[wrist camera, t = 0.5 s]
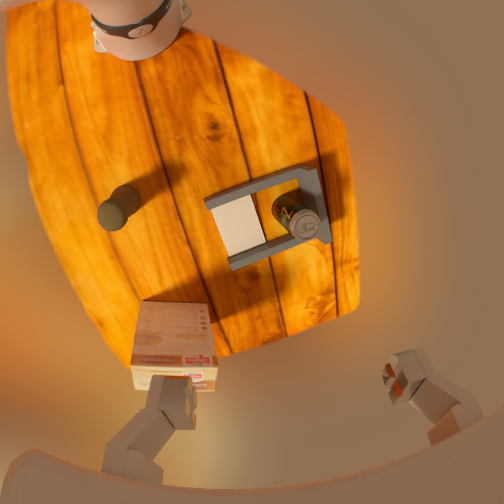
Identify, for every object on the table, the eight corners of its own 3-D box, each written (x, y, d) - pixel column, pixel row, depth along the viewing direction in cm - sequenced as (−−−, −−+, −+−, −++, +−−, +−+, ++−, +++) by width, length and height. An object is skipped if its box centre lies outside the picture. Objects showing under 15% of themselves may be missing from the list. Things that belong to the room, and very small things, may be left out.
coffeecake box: (142, 325, 58) (134, 390, 41) (140, 299, 56) (128, 364, 38) (205, 327, 62) (216, 392, 45) (207, 302, 60) (219, 367, 42)
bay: (203, 198, 50) (206, 208, 44) (300, 164, 52) (316, 168, 45) (229, 264, 57) (235, 281, 51) (317, 229, 58) (332, 241, 52)
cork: (138, 183, 46) (125, 195, 36) (141, 214, 49) (131, 234, 39) (108, 187, 45) (89, 201, 35) (112, 218, 47) (96, 239, 38)
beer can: (295, 193, 54) (322, 209, 43) (296, 218, 56) (321, 240, 45) (269, 196, 53) (291, 213, 42) (271, 222, 55) (291, 244, 45)
